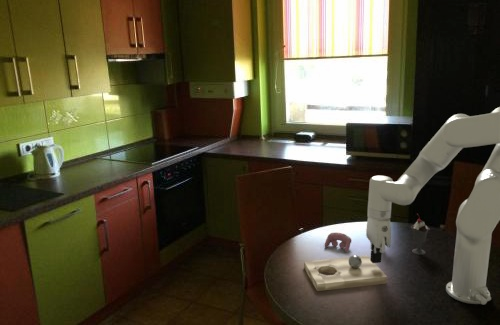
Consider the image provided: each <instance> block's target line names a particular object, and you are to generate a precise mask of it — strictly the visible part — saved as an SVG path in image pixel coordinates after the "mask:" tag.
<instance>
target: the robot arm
mask: <svg viewBox="0 0 500 325" xmlns="http://www.w3.org/2000/svg"><path fill="white" fill-rule="evenodd" d="M488 145H495V146H494V148H493V150H492V152H491V154H490V156H489V158H488V160H487V162H486V163H485V165H484V167H483V168H482V171H481V172H480V173H479V174H478V175H477V177H476V180H475V182H474V186H473V189H472V191H471V193H470V195H469V196H468V198H467V199H465V200H464V201H463V202H462V203H461V204H460V205H459V208H458V211H457V215H456V220H455V226H456V235H455V236H456V238H455V248H454V256H453V267H452V268H453V269H452V275H451V276H452V278H451V279H452V280H451V281H449V282H448V283H447V284H446V285H445V291H446V293H447V294H448V295H449V296H450V297H451V298H452V299H455V300H457V301H459V302H462V303H466V304H469V305H470V304H471V305H486V304H487V303H488V302H490V301H491V300H492V297H491V293H490V290H488V286H487V277H488V268H489V260H490V253H491V244H492V234H493V231H494V230H495V228H496V226H497V225H498V224H499V222H500V106H499V107H497V108H495V109H494V110H492V111H491V112H490V113H485V114H479V115H471V116H470V115H467V114H465V113H457V114H453V115H452V116H450V117H449V118H448V119H447V120H446V121H445V123H444V124H443V125H442V126H441V127H440V129H439V130H438V131H437V132H436V133H435V134H434V136H432V138H430V141H428V142H427V143H426V144H425V146H424V147H423V148H422V150H420V151H419V154H418V156H417V157H416V159H415V160H414V161H413V162H412V163H411V164H410V165H409V167H407V169H406V170H405V172H403V174H402V175H401V176H400V177H399V178H398V179H397V181H393V178H391V177H390V176H386V175H374V176H372V177H370V179H369V186H368V187H369V188H368V201H367V222H366V230H365V231H366V235H365V236H366V238H367V239H368V241H369V242H370V261H371V262H372V263H375V264H379V263H380V264H381V263H382V254H384V253H386V247H387V248H391V244H392V224H391V223H392V222H391V218H392V204H396V205H400V206H407V205H411V204H412V203H413V202H414V201H415V199H416V197H417V195H418V194H419V193H420V191H421V189H423V187H425V185H426V184H427V183H428V182H429V180H431V178H432V177H433V176H434V175H435V174H437V173H438V172H440V171H442V170H444V169H445V168H446V167H447V166H448V165H449V164H450V163H451V162H452V160H453V159H454V158H455V157H456V156H457V155H458V153H460V151H462V150H463V149H464V148H473V147H475V148H476V147H481V146H488Z"/></svg>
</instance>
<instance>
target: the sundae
mask: <svg viewBox="0 0 500 325" xmlns="http://www.w3.org/2000/svg"><path fill="white" fill-rule="evenodd" d="M416 215H417V216H418V219H417V220H416V222H414V224H411V225H410V228H411V230H412V235H413V241H414V242H415V244H417V247H416V248H414V249H412V250H411V252H412V254H414V255H418V256H424V255H425V254H426V251H425V250H424V249H422V247H421V246H422V244H424V243H425V242H426V239H427V235H428V231H430V230H431V228H430V227H429V226H427V225H426V224H425V221H424V220H421V219H420V218H421V217H420V215H419V213H416Z"/></svg>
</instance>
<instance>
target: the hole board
mask: <svg viewBox="0 0 500 325" xmlns="http://www.w3.org/2000/svg"><path fill="white" fill-rule="evenodd" d="M358 256H359V257H360V258H361V260H362V264H361V266H360V267H359V268H352V267H351V266H350V265H349V262H348V261H349V258H350V257H351V256H346V257H337V258H336V257H335V258H327V259H326V258H325V259H318V260H306V261H304V262H303V269H304V270H305V272H306V274H307V275H308V277H309V279H310V280H311V283H312V285H313V286H314V288H315V290H316V291H317V292H321V291H322V292H323V291H329V290H340V289H349V288H357V287H358V288H359V287H367V286H375V285H382V284H387V282H388V276H387V275H386V274H385V273H384V271H383V270H382V269H381V268H380V267H379V266H378V265H377V263H372V262H371V261H370V259H371V257H370V256H369V255H367V254H365V255H358ZM323 273H329V274H330V275H329V274H328V275H326V274H323Z"/></svg>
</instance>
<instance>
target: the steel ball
mask: <svg viewBox="0 0 500 325" xmlns="http://www.w3.org/2000/svg"><path fill="white" fill-rule="evenodd" d="M359 256H360V255H357V254H356V255H355V254H354V255H351V256H349V257H350V258H349V261H348V262H349V265H350V266H351V267H352V268H359V267H360V266H361V264H362V260H361V258H360V257H359Z"/></svg>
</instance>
